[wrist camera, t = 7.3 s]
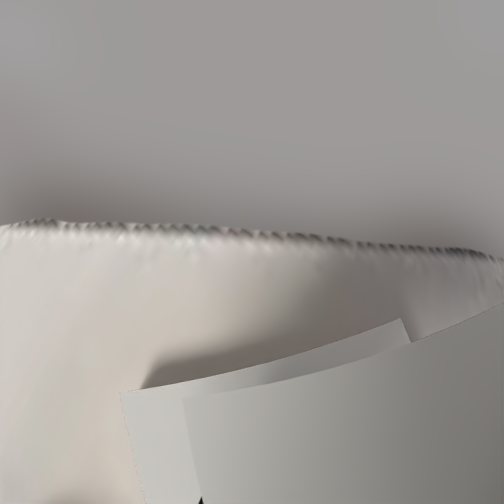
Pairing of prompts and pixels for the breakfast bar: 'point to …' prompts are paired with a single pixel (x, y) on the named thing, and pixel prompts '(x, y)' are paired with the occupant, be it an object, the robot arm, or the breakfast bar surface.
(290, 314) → the breakfast bar surface
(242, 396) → the plug
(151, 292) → the breakfast bar surface
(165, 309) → the breakfast bar surface
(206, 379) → the socket plate
